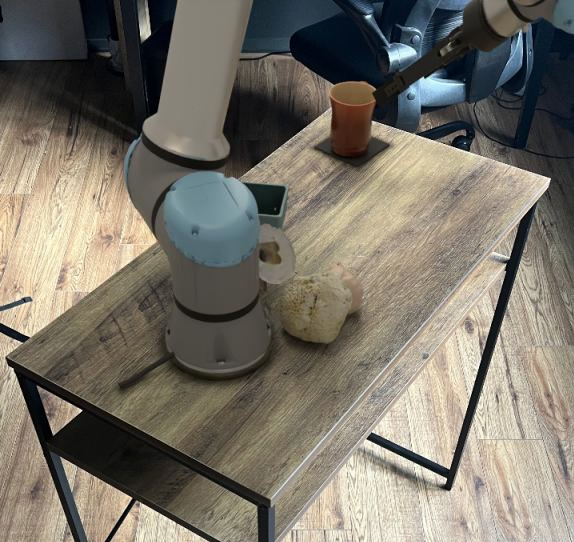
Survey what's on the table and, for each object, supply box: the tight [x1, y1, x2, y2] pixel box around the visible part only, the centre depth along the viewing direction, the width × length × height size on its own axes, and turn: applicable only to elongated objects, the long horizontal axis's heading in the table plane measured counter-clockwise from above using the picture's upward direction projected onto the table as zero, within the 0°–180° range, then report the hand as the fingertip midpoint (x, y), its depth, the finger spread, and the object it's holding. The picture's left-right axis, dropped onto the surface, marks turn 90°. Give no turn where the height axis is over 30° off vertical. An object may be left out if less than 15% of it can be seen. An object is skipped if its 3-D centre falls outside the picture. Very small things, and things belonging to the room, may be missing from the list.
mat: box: [313, 135, 390, 168], centre depth 152 cm, size 10×10×1 cm
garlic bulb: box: [327, 261, 364, 315], centre depth 122 cm, size 7×6×8 cm
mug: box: [328, 80, 377, 158], centre depth 148 cm, size 12×9×10 cm
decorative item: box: [278, 270, 352, 344], centre depth 117 cm, size 12×9×10 cm
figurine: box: [259, 208, 297, 293], centre depth 120 cm, size 11×10×15 cm
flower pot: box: [239, 180, 290, 239], centre depth 129 cm, size 9×9×9 cm
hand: (399, 85), depth 138 cm, fingers open, 13 cm apart
